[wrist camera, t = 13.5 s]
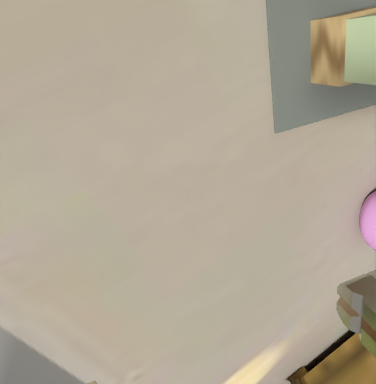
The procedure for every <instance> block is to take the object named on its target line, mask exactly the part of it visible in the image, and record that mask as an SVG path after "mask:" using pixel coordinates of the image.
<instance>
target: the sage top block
mask: <svg viewBox="0 0 376 384" xmlns="http://www.w3.org/2000/svg"><path fill="white" fill-rule="evenodd" d="M344 82H350V83H360V84H369V85H376V13H372V14H368V15H364V16H359V17H355V18H351V19H347V20H346V44H345V68H344Z"/></svg>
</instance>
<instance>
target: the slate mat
mask: <svg viewBox="0 0 376 384" xmlns="http://www.w3.org/2000/svg"><path fill="white" fill-rule="evenodd" d="M375 6H376V0H266V9H267V25H268V40H269V55H270V70H271V85H272V100H273V115H274V130H275V133H279V132H283V131H286V130H289V129H293V128H296V127H300V126H303V125H307V124H310V123H313V122H317V121H320V120H324V119H327V118H330V117H334V116H337V115H341V114H344V113H347V112H351V111H354V110H358V109H361V108H364V107H368V106H371V105H375V104H376V85H369V84H360V83H352V84H349V85H345V86H341V87H338V86H331V85H323V84H315V83H311V25H310V21H312V20H316V19H320V18H325V17H329V16H333V15H337V14H342V13H346V12H350V11H354V10H359V9H363V8H369V7H375Z"/></svg>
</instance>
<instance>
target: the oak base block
mask: <svg viewBox="0 0 376 384" xmlns="http://www.w3.org/2000/svg"><path fill="white" fill-rule="evenodd" d="M372 13H376V6H375V7H369V8H363V9H359V10H354V11H350V12H346V13H342V14H337V15H333V16H329V17H325V18H320V19H316V20H312V21H310V25H311V83H315V84H323V85H331V86H338V87H341V86H345V85H349V84H352V83H350V82H344V68H345V44H346V20H347V19H351V18H355V17H359V16H364V15H368V14H372Z"/></svg>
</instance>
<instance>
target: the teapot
mask: <svg viewBox="0 0 376 384" xmlns="http://www.w3.org/2000/svg"><path fill="white" fill-rule="evenodd" d="M359 225H360V230H361V233H362V236H363V238H364V240H365V242H366V243H367V244H368V246H370V247H371V248H373V249H374V250H376V191H375V192H373V193H372V194H370V195H369V196H368V197H367V198H366V200H365V201H364V203H363V205H362V208H361V212H360V218H359Z"/></svg>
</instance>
